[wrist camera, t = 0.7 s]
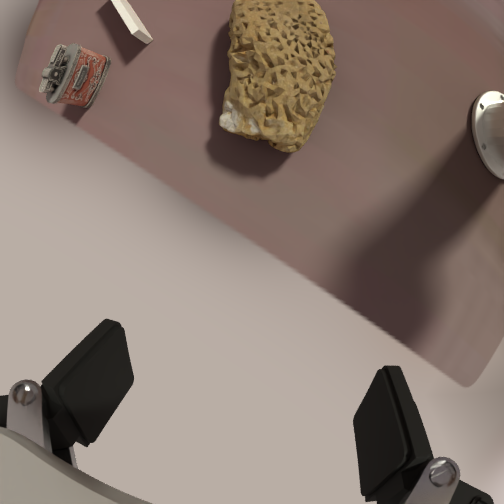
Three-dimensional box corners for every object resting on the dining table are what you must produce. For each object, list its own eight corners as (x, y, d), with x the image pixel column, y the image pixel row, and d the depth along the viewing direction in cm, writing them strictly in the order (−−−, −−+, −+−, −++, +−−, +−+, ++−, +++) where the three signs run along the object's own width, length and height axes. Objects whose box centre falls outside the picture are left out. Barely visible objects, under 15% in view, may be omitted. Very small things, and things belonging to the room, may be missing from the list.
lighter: (92, 110, 30) (41, 103, 20) (78, 105, 29) (28, 99, 20) (115, 58, 27) (69, 38, 17) (99, 55, 27) (54, 38, 17)
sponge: (312, 155, 30) (362, 9, 19) (297, 163, 23) (360, -21, 13) (213, 121, 32) (257, -12, 22) (177, 123, 26) (230, -39, 15)
